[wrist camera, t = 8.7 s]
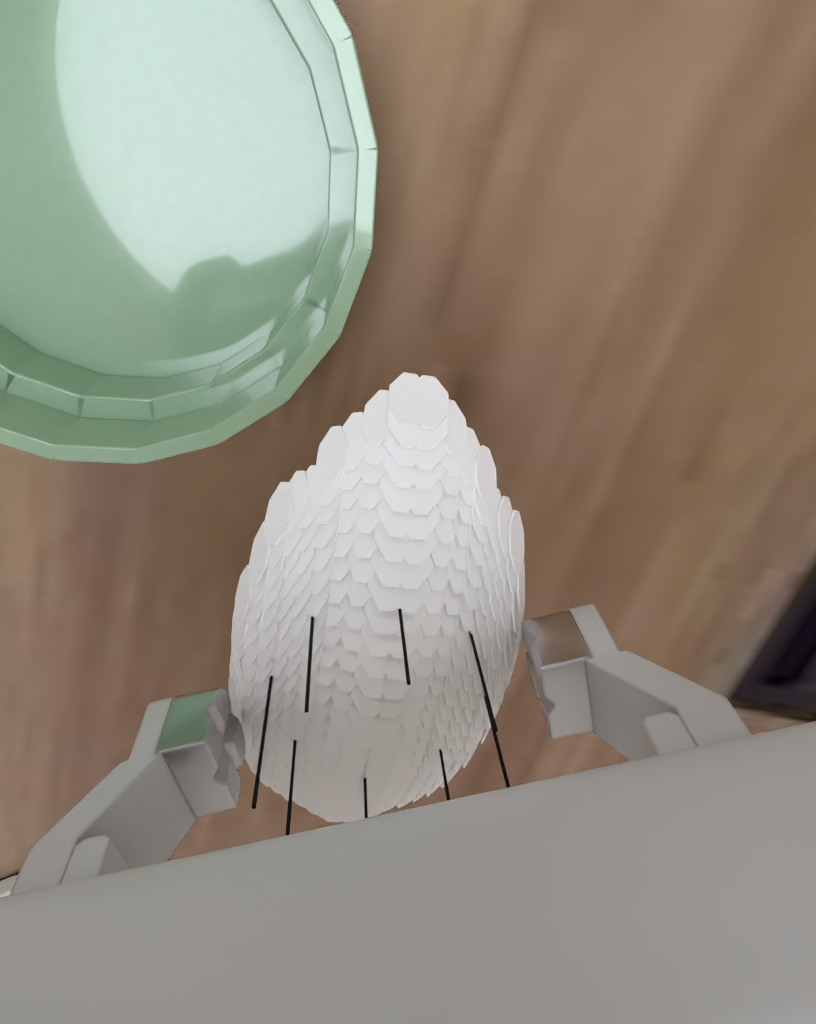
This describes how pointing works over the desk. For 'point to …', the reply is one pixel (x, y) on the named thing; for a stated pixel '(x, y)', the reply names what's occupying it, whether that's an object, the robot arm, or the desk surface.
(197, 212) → the bowl
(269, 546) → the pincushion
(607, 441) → the desk surface
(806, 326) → the desk surface
